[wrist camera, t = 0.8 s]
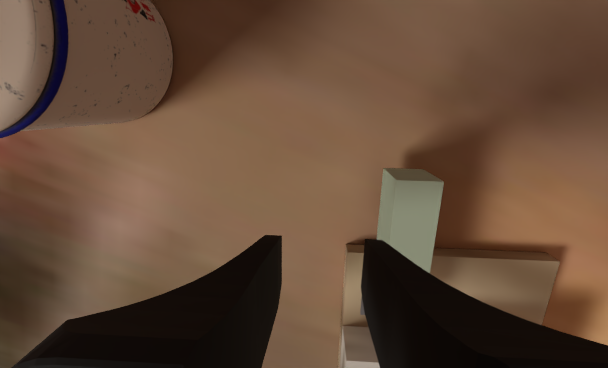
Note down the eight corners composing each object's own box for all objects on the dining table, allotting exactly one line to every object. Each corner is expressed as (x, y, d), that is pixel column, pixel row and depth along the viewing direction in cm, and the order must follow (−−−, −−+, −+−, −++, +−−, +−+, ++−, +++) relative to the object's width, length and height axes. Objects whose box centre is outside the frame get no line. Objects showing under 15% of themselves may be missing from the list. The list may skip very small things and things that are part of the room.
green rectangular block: (423, 169, 17) (447, 183, 14) (404, 307, 20) (421, 346, 17) (383, 168, 18) (398, 182, 14) (370, 305, 20) (380, 344, 17)
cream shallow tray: (504, 404, 24) (543, 465, 20) (336, 393, 24) (339, 451, 20) (546, 252, 20) (603, 289, 16) (345, 244, 21) (352, 277, 17)
